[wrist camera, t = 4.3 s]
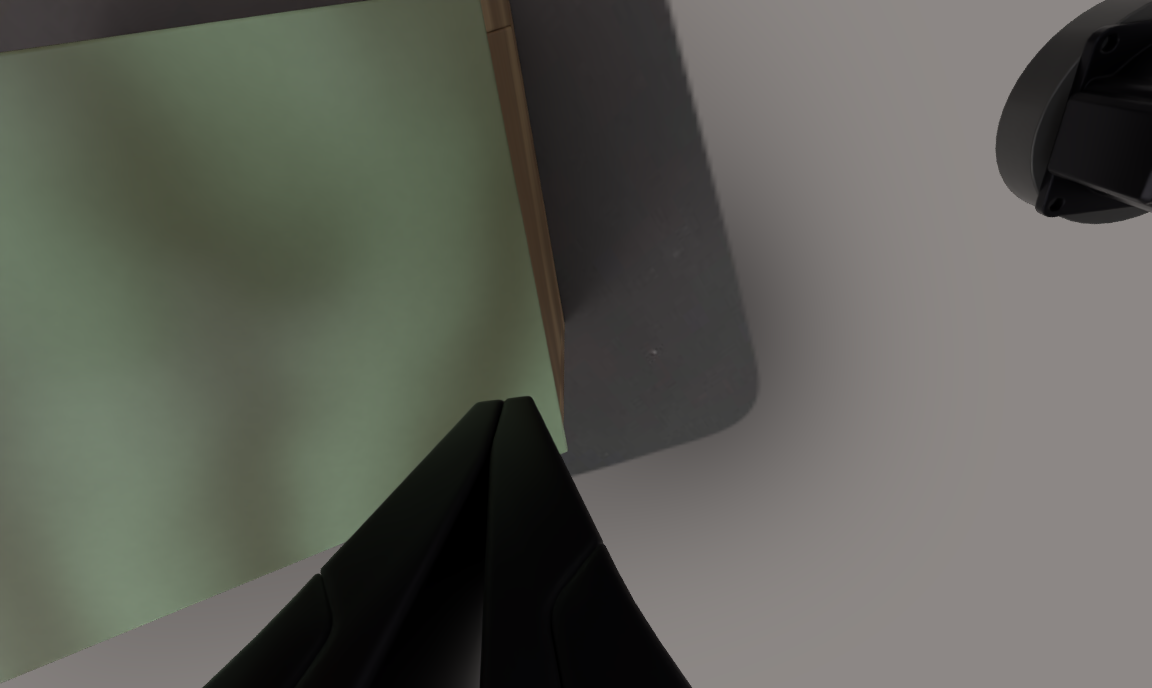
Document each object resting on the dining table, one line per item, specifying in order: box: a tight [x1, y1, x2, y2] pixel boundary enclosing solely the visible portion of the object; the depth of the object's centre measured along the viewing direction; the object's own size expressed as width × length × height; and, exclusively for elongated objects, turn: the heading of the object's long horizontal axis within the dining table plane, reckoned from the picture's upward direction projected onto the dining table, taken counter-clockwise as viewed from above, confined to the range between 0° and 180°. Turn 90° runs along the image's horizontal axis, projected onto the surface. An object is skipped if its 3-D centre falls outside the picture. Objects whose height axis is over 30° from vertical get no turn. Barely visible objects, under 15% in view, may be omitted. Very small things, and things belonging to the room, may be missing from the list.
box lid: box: [0, 0, 568, 683], centre depth 11 cm, size 14×12×1 cm
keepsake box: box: [480, 0, 565, 422], centre depth 17 cm, size 14×12×7 cm
